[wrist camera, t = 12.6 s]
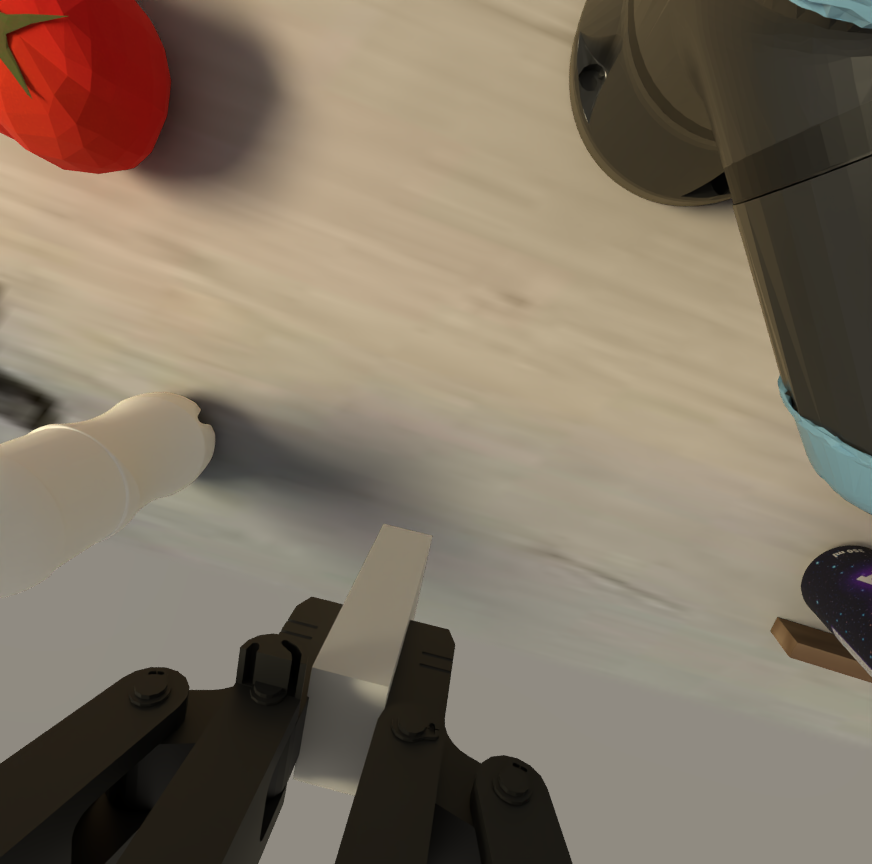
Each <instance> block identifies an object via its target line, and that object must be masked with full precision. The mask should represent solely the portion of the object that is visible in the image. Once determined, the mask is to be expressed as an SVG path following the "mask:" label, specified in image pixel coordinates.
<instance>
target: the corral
mask: <svg viewBox="0 0 872 864" xmlns="http://www.w3.org/2000/svg"><path fill="white" fill-rule="evenodd" d="M771 633H772V634H773V635H774V637H775V638H776V639H777V641H778V642H779V644H780V645H781V646H782V648H783V649H784V650H785V652H786V653H787V655H788V656H789V657H791V658H794V659H797V660H800V661H803V662H807V663H810V664H813V665H816V666H820V667H823V668H826V669H829V670H832V671H836V672H839V673H842V674H845V675H848V676H852V677H855V678H858V679H861V680H865V681H868V682H871V683H872V677H871V676H870V675H869V674H868V673H867V672H866V670H865V669H864V668H863V667H862V666H861V665H860V664H859V663H858V661H857V660H856V659H855V658H854V657H853V656H852V655H851V654H850V652H849V651H848V650H847V649H846V648H845V647H844V646H843V645H842V643H841V642H840V641H839V640H838V639H837V638H836V637H835V636H834V634H830V633H827V632H824V631H821V630H817V629H814V628H811V627H808V626H804V625H801V624H798V623H795V622H791V621H788V620H785V619H782V618H778V617H777V619H776V621H775V623H774V625H773V627H772V629H771Z"/></svg>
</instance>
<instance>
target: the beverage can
mask: <svg viewBox="0 0 872 864" xmlns="http://www.w3.org/2000/svg"><path fill="white" fill-rule="evenodd" d="M801 591H802V595H803V598H804V600H805V602H806V604H807V605H808V606H809V608H810V609H811V610H812V611H813V612H814V613H815V614H816V615H817V617H818V618H819V619H820V620H821V621H822V622H823V623H824V624H825V626H826V627H827V628H828V629H829V630H830V631H831V632H832V633H833V634H834V636H835V637H836V638H837V639H838V640H839V641H840V642H841V643H842V645H843V646H844V647H845V648H846V649H847V650H848V651H849V652H850V654H851V655H852V656H853V657H854V658H855V659H856V660H857V661H858V663H859V664H860V665H861V666H862V667H863V668H864V669H865V670H866V672H867V673H868V674H869V675H870V676H871V677H872V550H871V549H868V548H865V547H861V546H842V547H837V548H834V549H831V550H829V551H826V552H825V553H823V554H821V555H820V556H818V557H817V558H816V559H815V560H813V562H812V563H811V564H810V565H809V566H808V568H807V569H806V571H805V573H804V575H803V578H802V583H801Z"/></svg>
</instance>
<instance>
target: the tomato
mask: <svg viewBox="0 0 872 864" xmlns="http://www.w3.org/2000/svg"><path fill="white" fill-rule="evenodd" d="M170 88H171V78H170V73H169V68H168V63H167V58H166V53H165V49H164V47H163V44H162V42H161V40H160V38H159V36H158V34H157V32H156V30H155V27H154V26H153V24H152V22H151V21H150V19H149V17H148V16H147V15H146V14H145V12H144V11H143V10H142V9H141V7H140V6H139V5H138V4H137V3H136V1H135V0H0V133H2V134H4V135H6V136H8V137H10V138H12V139H14V140H16V141H17V142H18V143H19V144H20V145H21V146H22V147H24V148H25V149H26V150H28V151H30V152H32V153H34V154H35V155H37V156H39V157H41V158H43V159H45V160H47V161H49V162H51V163H52V164H54V165H56V166H58V167H60V168H62V169H64V170H72V171H80V172H88V173H96V174H101V173H108V172H114V171H121V170H128V169H131V168H135V167H136V166H137V165H138V164H139V163H140V162H142V161H143V160H144V159H145V158H146V157H147V156H148V155H149V154H150V153H151V152H152V150H153V148H154V146H155V143H156V141H157V139H158V136H159V134H160V132H161V129H162V127H163V124H164V122H165V120H166V117H167V113H168V105H169V97H170Z"/></svg>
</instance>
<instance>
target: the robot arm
mask: <svg viewBox="0 0 872 864" xmlns="http://www.w3.org/2000/svg"><path fill="white" fill-rule="evenodd" d="M569 90H570V100H571V106H572V111H573V115H574V119H575V122H576V126H577V129H578V131H579V134H580V136H581V138H582V140H583V142H584V144H585V146H586V148H587V150H588V151H589V153H590V155H591V156H592V158H593V159H594V160H595V162H596V163H597V164H598V165H599V167H600V168H601V169H602V170H603V171H604V172H605V173H606V174H607V175H608V176H609V177H610V178H611V179H612V180H614V181H615V182H616V183H617V184H619V185H620V186H622V187H623V188H625V189H626V190H628V191H630V192H631V193H633V194H636V195H638V196H640V197H642V198H645V199H647V200H650V201H654V202H657V203H662V204H667V205H675V206H699V205H707V204H713V203H717V202H721V201H725V200H728V199H731V198H732V200H733V204H734V205H733V209H734V213H735V216H736V220H737V223H738V227H739V230H740V234H741V237H742V241H743V245H744V248H745V252H746V255H747V259H748V262H749V266H750V269H751V273H752V276H753V280H754V284H755V287H756V291H757V294H758V298H759V301H760V305H761V308H762V312H763V316H764V319H765V323H766V326H767V330H768V333H769V337H770V340H771V344H772V348H773V351H774V355H775V358H776V362H777V365H778V369H779V372H780V376H779V379H778V386H779V391H780V395H781V398H782V400H783V403H784V404H785V406H786V408H787V409H788V410H789V412H790V413H791V414H792V416H793V417H794V419H795V421H796V424H797V427H798V430H799V433H800V436H801V439H802V442H803V445H804V448H805V451H806V454H807V456H808V458H809V461H810V463H811V465H812V466H813V468H814V469H815V471H816V472H817V474H818V475H819V476H820V477H821V478H823V479H824V480H825V481H826V482H827V483H828V484H829V485H830V486H831V488H832V489H833V490H834V491H835V492H837V493H838V494H839V495H840V496H841V497H843V498H844V499H845V500H846V501H848V502H850V503H851V504H853V505H855V506H857V507H858V508H860V509H862V510H864V511H865V512H867V513H869V514H871V515H872V0H586V3H585V6H584V8H583V11H582V14H581V17H580V21H579V24H578V27H577V31H576V35H575V39H574V43H573V47H572V53H571V60H570V70H569ZM431 541H432V535H427V534H423V533H419V532H415V531H411V530H407V529H403V528H399V527H394V526H390V525H386V524H383V526H382V528H381V530H380V532H379V534H378V536H377V538H376V540H375V542H374V544H373V546H372V548H371V550H370V552H369V554H368V556H367V558H366V560H365V562H364V564H363V566H362V568H361V570H360V572H359V574H358V576H357V578H356V580H355V582H354V584H353V586H352V588H351V590H350V592H349V594H348V596H347V598H346V600H345V602H344V604H339V603H335V602H331V601H327V600H323V599H319V598H315V597H310V598H309V599H307V600H305V601H304V602H302V603H301V604H299V605H297V606H296V608H295V609H294V611H293V613H292V614H291V616H290V617H289V619H288V621H287V622H286V623H285V625H284V627H283V628H282V631H281V632H280V633H279V634H266V635H260V636H257V637H255V638H252V639H250V640H248V641H247V642H246V643H245V644H244V645H242V646H241V647H240V654H239V661H238V669H237V677H236V683H235V685H234V686H233V687H229V688H225V689H219V690H189V685H188V682H187V680H186V678H185V677H184V676H183V675H182V674H180V673H179V672H178V671H175V670H172V669H169V668H164V667H162V668H161V667H158V668H157V667H155V668H154V667H150V668H146V669H142V670H138V671H135V672H133V673H131V674H129V675H127V676H125V677H123V678H122V679H120V680H119V681H118V682H116V683H115V684H114V685H112V686H110V687H109V688H108V689H106V690H105V691H103V692H102V693H101V694H99V695H98V696H96V697H95V698H93V699H92V700H90V701H89V702H88V703H86V704H85V705H83V706H82V707H80V708H79V709H78V710H76V711H75V712H73V713H72V714H71V715H69V716H68V717H66V718H65V719H63V720H62V721H61V722H59V723H58V724H56V725H55V726H53V727H52V728H51V729H49V730H48V731H46V732H45V733H43V734H42V735H40V736H39V737H38V738H36V739H35V740H33V741H32V742H30V743H29V744H28V745H26V746H25V747H23V748H22V749H20V750H19V751H18V752H16V753H15V754H14V755H12V756H10V757H9V758H8V759H6V760H5V761H3V762H2V763H0V864H258V863H259V860H260V858H261V856H262V853H263V851H264V848H265V846H266V844H267V841H268V839H269V836H270V834H271V832H272V829H273V827H274V825H275V822H276V820H277V817H278V815H279V813H280V810H281V808H282V805H283V802H284V797H285V792H286V786H287V782H288V780H289V777H290V775H291V773H292V770H293V768H294V765H295V770H294V776H293V779H294V780H298V781H301V782H305V783H309V784H312V785H316V786H320V787H324V788H327V789H331V790H335V791H338V792H342V793H346V794H349V795H353V796H355V797H354V801H353V804H352V808H351V811H350V814H349V817H348V821H347V824H346V828H345V831H344V835H343V838H342V841H341V844H340V848H339V851H338V855H337V858H336V861H335V864H572V861H571V858H570V855H569V852H568V849H567V846H566V843H565V840H564V837H563V834H562V831H561V828H560V825H559V822H558V819H557V816H556V813H555V810H554V807H553V804H552V801H551V798H550V795H549V792H548V789H547V787H546V785H545V783H544V781H543V779H542V778H541V776H540V775H539V774H538V773H537V772H536V771H535V770H534V769H533V768H532V767H531V766H530V765H528V764H526V763H525V762H523V761H521V760H519V759H517V758H513V757H509V756H504V755H503V756H494V757H490V758H489V759H487V760H485V761H484V762H482V764H481V763H479V762H478V761H476V760H474V759H472V758H471V757H469V756H467V755H466V754H465V753H463V752H462V751H460V750H459V749H458V748H457V747H456V746H455V745H454V744H453V743H452V741H451V739H450V738H449V736H448V734H447V731H446V728H445V712H446V706H447V699H448V691H449V684H450V677H451V669H452V663H453V656H454V649H455V643H454V641H453V638H452V636H451V634H450V631H449V630H448V629H444V628H440V627H436V626H432V625H428V624H424V623H420V622H416V621H413V620H414V616H415V612H416V608H417V603H418V599H419V594H420V590H421V585H422V581H423V577H424V572H425V568H426V563H427V559H428V554H429V550H430V545H431ZM295 763H296V764H295Z"/></svg>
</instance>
